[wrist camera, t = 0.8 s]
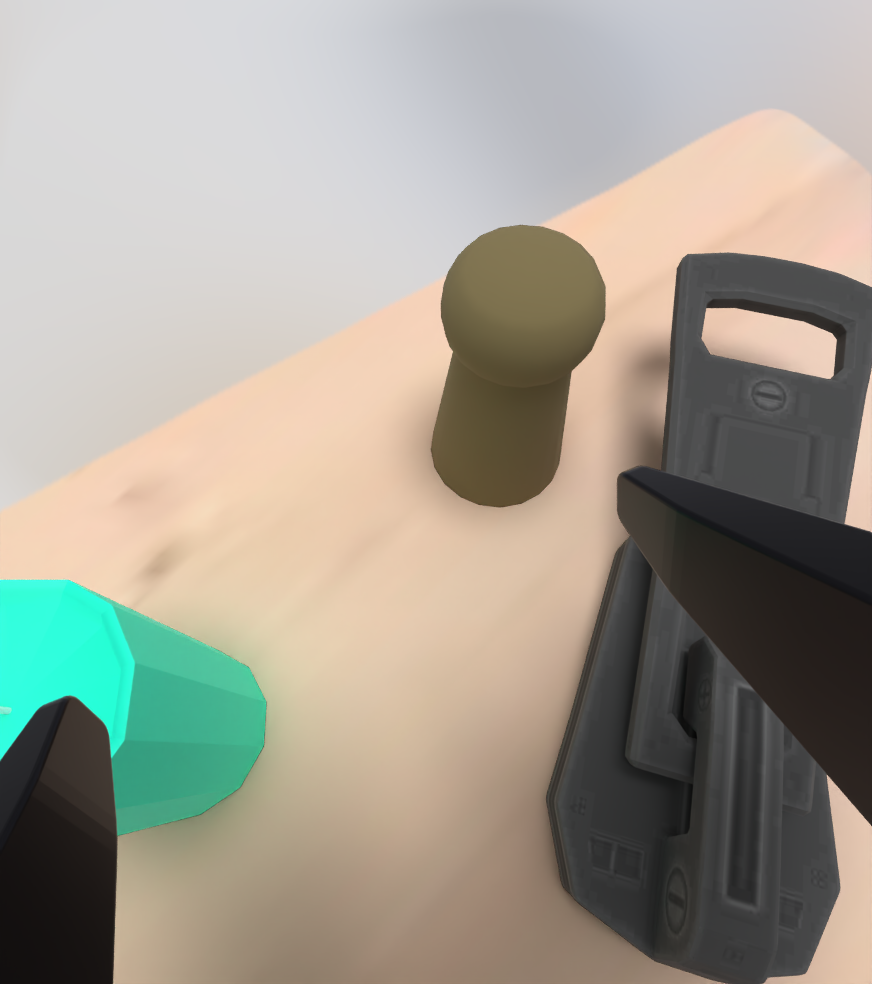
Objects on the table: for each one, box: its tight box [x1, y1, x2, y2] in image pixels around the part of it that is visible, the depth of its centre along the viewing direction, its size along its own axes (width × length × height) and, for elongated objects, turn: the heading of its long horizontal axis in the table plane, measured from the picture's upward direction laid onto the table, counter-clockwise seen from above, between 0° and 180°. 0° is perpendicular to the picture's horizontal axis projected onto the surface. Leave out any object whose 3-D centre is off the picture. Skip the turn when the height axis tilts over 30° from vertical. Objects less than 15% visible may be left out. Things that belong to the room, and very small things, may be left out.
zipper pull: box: [546, 253, 872, 984], centre depth 21 cm, size 9×7×25 cm
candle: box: [0, 580, 266, 836], centre depth 16 cm, size 6×6×12 cm
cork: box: [431, 225, 605, 507], centre depth 22 cm, size 6×6×11 cm
